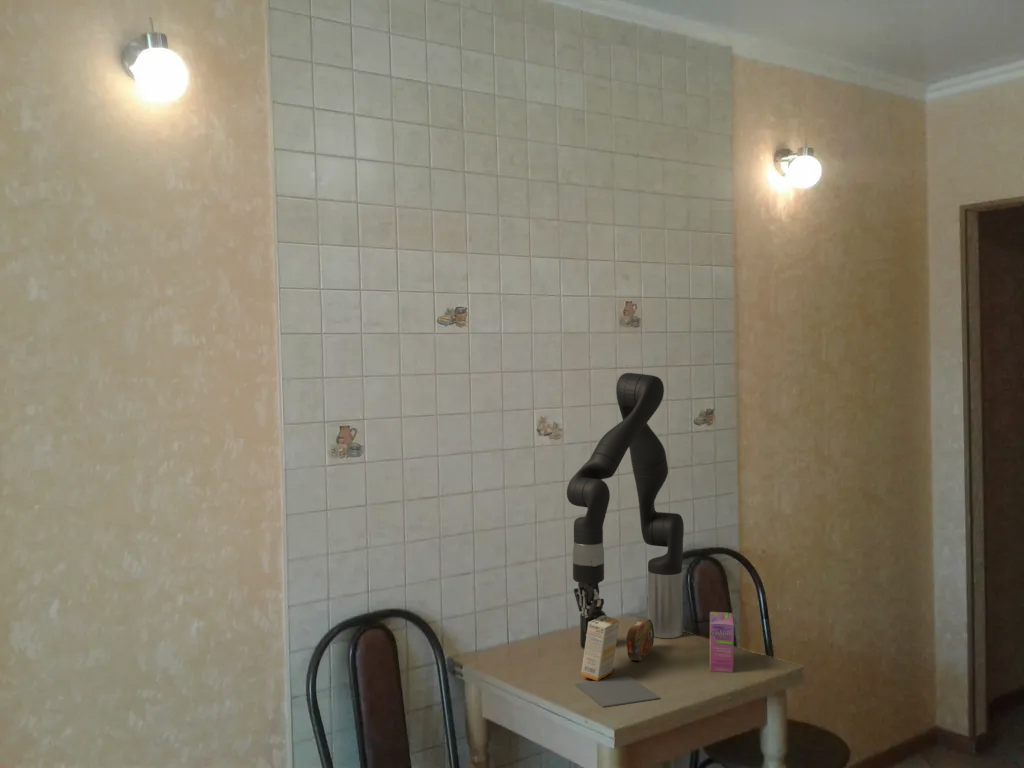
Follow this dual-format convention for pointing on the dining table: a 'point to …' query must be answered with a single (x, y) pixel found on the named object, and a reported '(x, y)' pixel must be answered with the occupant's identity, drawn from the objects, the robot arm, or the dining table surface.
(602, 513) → the robot arm
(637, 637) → the tin
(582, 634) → the supplement bottle
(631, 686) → the mat
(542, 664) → the dining table surface
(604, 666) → the supplement box
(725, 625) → the box
